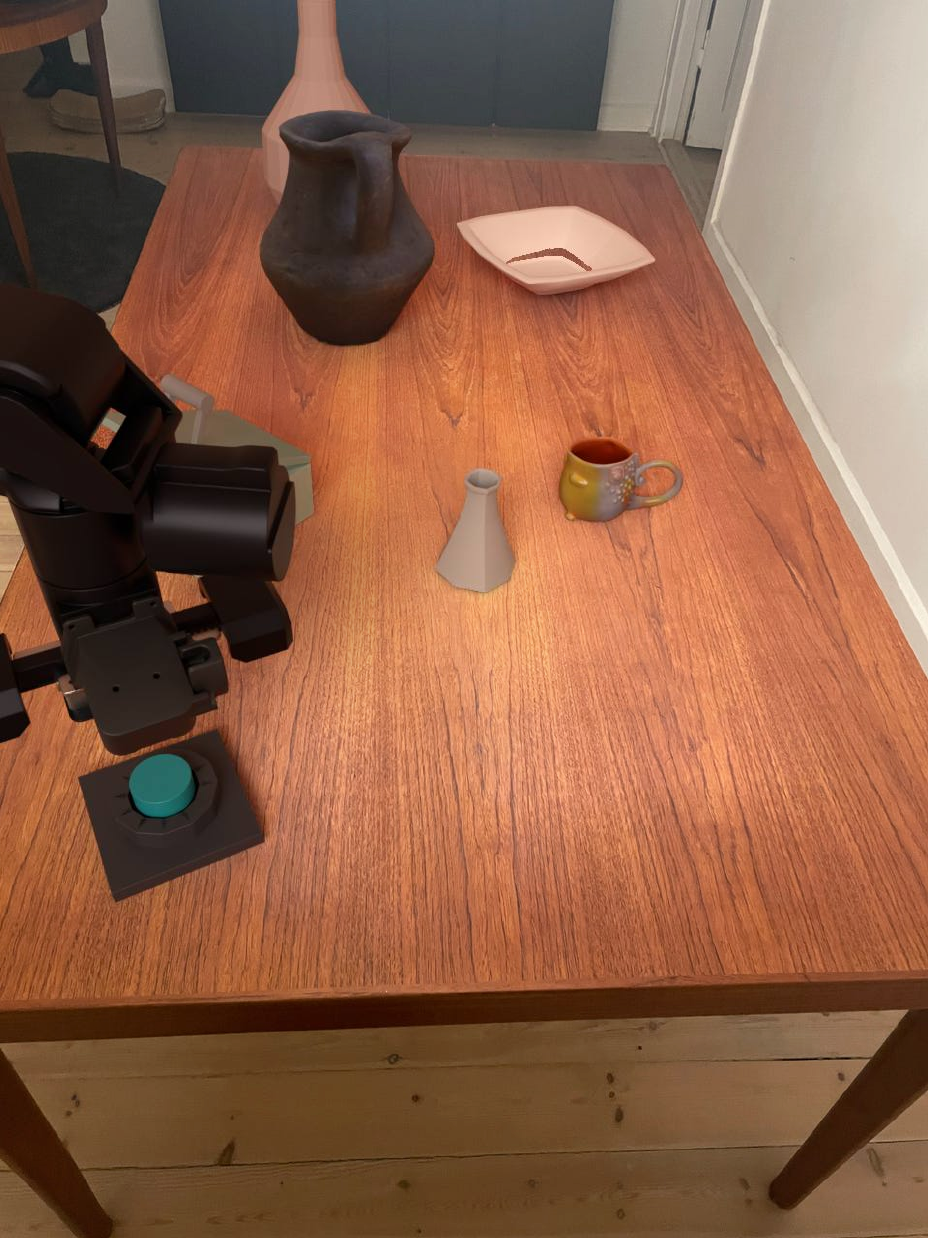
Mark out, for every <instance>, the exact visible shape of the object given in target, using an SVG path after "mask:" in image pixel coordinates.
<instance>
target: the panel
mask: <svg viewBox="0 0 928 1238" xmlns="http://www.w3.org/2000/svg"><path fill="white" fill-rule="evenodd" d="M160 754H172V755H176V756H179V757H181V758H183V759H184V760H185V761H186V762H187V763H188V764H189V766H190V768H191V772H192V776H193V779H194V783H195V793H194V796H193V798H192V800H191V802H190V803H189V804H188V806H187V807H186V808H184V809H183V810H182V811H180V812H179V813H177V814H174V815H172V816H169V817H163V818H155V817H150V816H147V815H145V814H143V813H142V812H141V811H139V809H138V808H137V807H136V805H135V802H134V799H133V796H132V794H131V791H130V787H129V780H130V776H131V774H132V772H133V771H134V769H135V768H136V767H137V766H138V765H139V764H140V763H141V762H142V761H144V760H146V759H147V758H150V757H152V756H155V755H160ZM77 779H78V782H79V786H80V790H81V793H82V797H83V800H84V804H85V807H86V811H87V813H88V814H87V815H88V817H89V821H90V824H91V828H92V831H93V835H94V838H95V842H96V845H97V849H98V852H99V855H100V859H101V862H102V865H103V869H104V873H105V876H106V880H107V883H108V886H109V889H110V893H111V896H112V898H113V901H114V903H119V902H120V901H122V900H126V899H128V898H131V897H133V896H135V895H138V894H141V893H143V892H145V891H147V890H150V889H153V888H155V887H158V886H160V885H163V884H165V883H168V882H170V881H172V880H175V879H177V878H180V877H182V876H185V875H187V874H189V873H192V872H195V871H197V870H199V869H202V868H204V867H207V866H209V865H212V864H215V863H217V862H220V861H222V860H224V859H226V858H230V857H232V856H234V855H237V854H239V853H241V852H244V851H246V850H250V849H252V848H254V847H256V846H260V845H261V844H264V843H265V839H264V834H263V831H262V829H261V826H260V824H259V821H258V819H257V817H256V815H255V812H254V810H253V808H252V806H251V804H250V800H249V799H248V796H247V794H246V792H245V789H244V787H243V785H242V783H241V780H240V778H239V775H238V773H237V770H236V768H235V766H234V763H233V762H232V760H231V757H230V755H229V752H228V750H227V748H226V745H225V743H224V741H223V738H222V736H221V734H220V732H219V729H218V728H214V729H211V730H208V731H206V732H203V733H199V734H197V735H194V736H191V737H189V738H185V739H182V740H180V741H178V742H175V743H172V744H169V745H165V746H163V747H160V748H157V749H155V750H152V751H148V752H146V753H143V754H141V755H140V754H139V755H137V756H134V757H131V758H129V759H126V760H123V761H120V762H118V763H114V764H111V765H109V766H105V767H103V768H100V769H97V770H94V771H92V772H89V773H86V774H82V775H80V776H78V777H77Z"/></svg>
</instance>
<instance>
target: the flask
mask: <svg viewBox="0 0 928 1238" xmlns="http://www.w3.org/2000/svg"><path fill="white" fill-rule="evenodd" d="M502 482H503V476H502V475H501V474H500V473H498V472H496V471H494V470H493V469H490V468H485V467H475V468H473V469H470V470H469V471H466V474H465V475H464V479H463V482H462V483H463V485H464V487H465V489H466V490H465V499H464V503H463V507H462V510H461V512H460V513H461V514H460V515H459V517H458V519H457V521H456V524H455V525H454V527H453V530H452V532H451V533H450V535H449V537H448V539H447V540H446V542H445V544H444V546H443V548H442V549H441V553H440V555H439V557H438V560H437V562H436V564H435V567H434V571H436V572H437V573H439V575H440V576H442V577H443V578H444V579H445V580H446V581H447V582H449V583H450V584H451V585H452V586H453V587H456V588H460V589H464V590H470V591H475V592H479V593H484V594H486V593H489V592H490V591H491V590H493V589H495V588H497V587H499V586H502V585H503V584H505V583H507V582H509V581H510V579H511V576H512V572H513V570H514V567H515V565H516V558H515V554H514V552H513V549H512V547H511V544H510V541H509V539H508V536H507V533H506V530H505V527H504V525H503V521H502V518H501V514H500V511H499V502H498V491H499V490H500V487H501V484H502Z"/></svg>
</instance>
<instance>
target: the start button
mask: <svg viewBox="0 0 928 1238" xmlns="http://www.w3.org/2000/svg"><path fill="white" fill-rule="evenodd" d="M129 787H130V791H131V794H132V796H133V799H134V802H135V805H136V807H137V808H138V809H139V811H141V812H142V813H143V814H145V815H147V816H150V817H155V818H163V817H169V816H172V815H174V814H177V813H179V812H180V811H182V810H183V809H184V808H186V807H187V806H188V804H189V803H190V802H191V800H192V798H193V796H194V793H195V783H194V779H193V776H192V772H191V768H190V766H189V764H188V763H187V762H186V761H185V760H184V759H183V758H181V757H179V756H176V755H172V754H160V755H155V756H152V757H150V758H147V759H146V760H144V761H142V762H141V763H140V764H139V765H138V766H137V767H136V768H135V769H134V771H133V772H132V774H131V776H130V780H129Z"/></svg>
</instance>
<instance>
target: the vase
mask: <svg viewBox="0 0 928 1238" xmlns="http://www.w3.org/2000/svg"><path fill="white" fill-rule="evenodd" d="M296 3H297V4H296V5H297V21H298V39H297V48H296V55H295V65H294V73H293V75H292V77H291V79H290V80H289V82H288V84H287V85H286V87H285V89H284V90H283V92H282V93H281V95H280V96H279V98H278V100H277V102H276V103H275V105H274V106H273V108H272V110H271V112H269V115H268V116H267V118H266V119H265V121H264V123H263V125H262V128H261V142H262V145H261V146H262V163H263V164H262V166H263V179H264V181H265V183H266V186H267V188H268V190H269V192H270V195H271V196H272V198H273V200H274V202H275V204H276V205H277V207H278V206H279V204H280V201H281V199H282V195H283V191H284V188H285V184H286V179H287V175H288V167H289V151H288V149H287V147H286V145H285V144H284V142H283V141H282V139H281V138H280V136H279V126H280V125H281V124H282V123H284V122H285V121H287V120H289V119H291V118H294V117H296V116H300V115H305V114H308V113H313V112H319V111H328V110H348V111H354V112H361V113H367V114H372V112H371V111H370V110H369V108H368V107H367V105H366V103H365V102H364V101H363V99H362V98H361V96H360V95H359V93H358V92H357V90H356V89H355V88H354V86H353V85H352V83H351V82H350V80H349V79H348V77H347V75H346V72H345V66H344V62H343V57H342V52H341V48H340V42H339V38H338V33H337V6H336V5H337V4H336V0H296Z"/></svg>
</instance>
